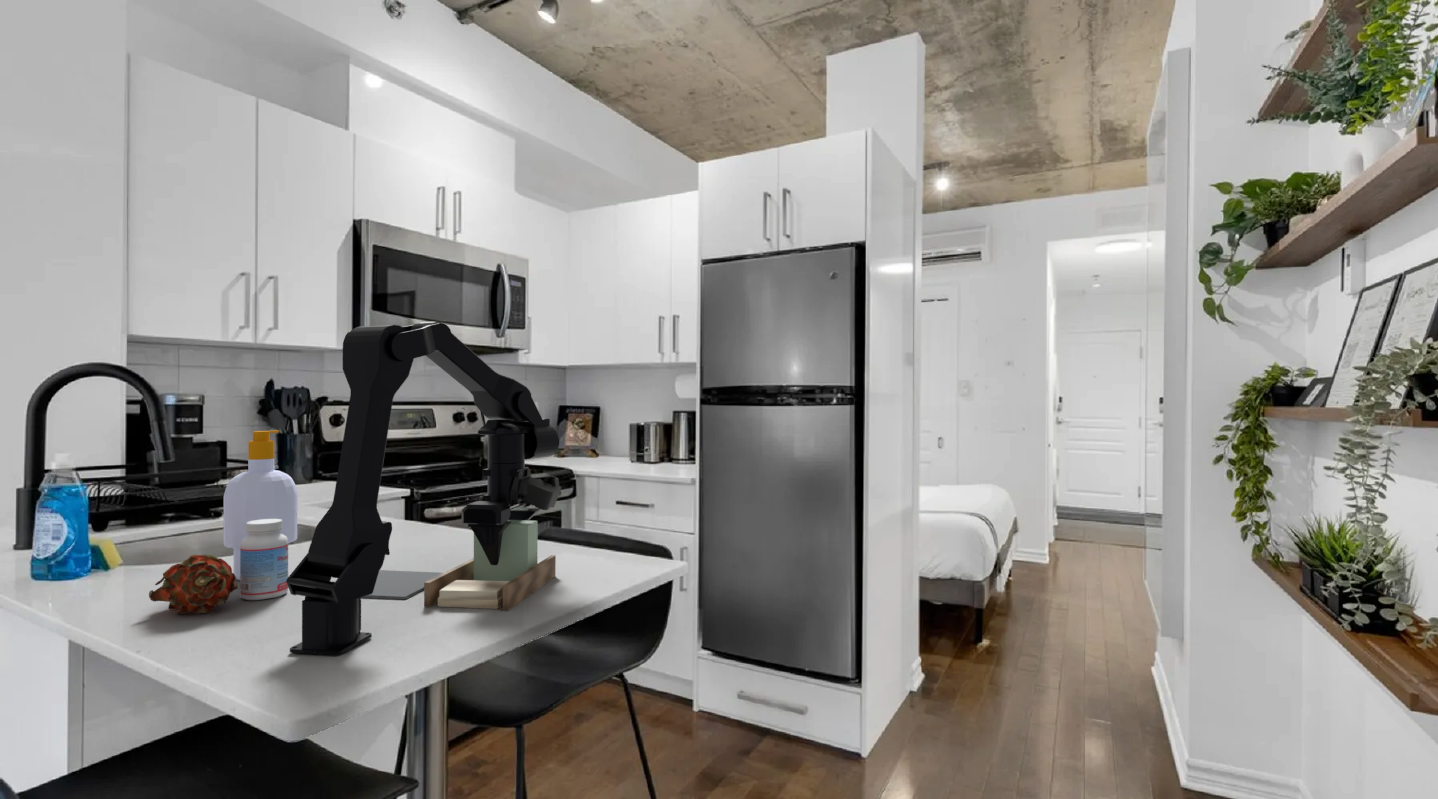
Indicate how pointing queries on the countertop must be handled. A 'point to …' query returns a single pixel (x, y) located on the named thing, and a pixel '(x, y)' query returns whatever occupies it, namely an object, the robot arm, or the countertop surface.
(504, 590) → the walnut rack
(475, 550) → the upright mint green block
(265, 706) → the countertop surface
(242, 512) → the soap bottle
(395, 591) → the charcoal mat
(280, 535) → the pill bottle
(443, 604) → the offcut stack
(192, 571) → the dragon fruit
